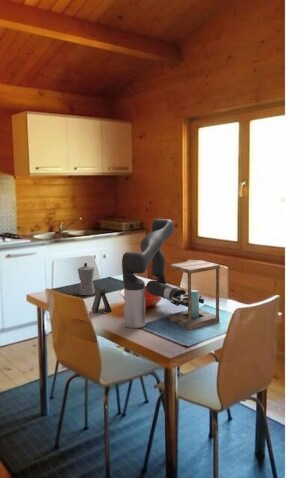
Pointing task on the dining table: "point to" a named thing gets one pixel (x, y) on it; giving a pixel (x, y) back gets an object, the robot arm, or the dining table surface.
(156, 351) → the dining table surface
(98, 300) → the phone stand
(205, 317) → the tan frame
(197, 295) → the peg
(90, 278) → the coffeepot
